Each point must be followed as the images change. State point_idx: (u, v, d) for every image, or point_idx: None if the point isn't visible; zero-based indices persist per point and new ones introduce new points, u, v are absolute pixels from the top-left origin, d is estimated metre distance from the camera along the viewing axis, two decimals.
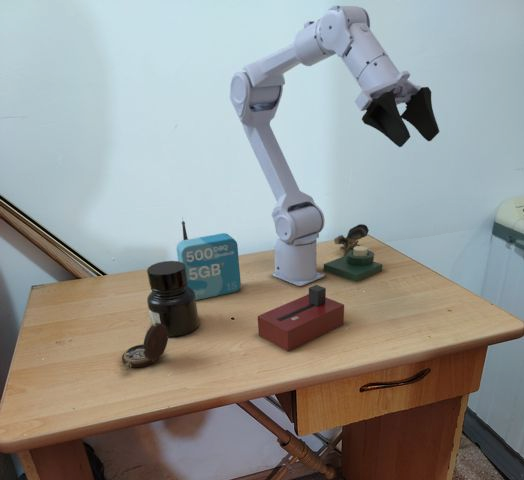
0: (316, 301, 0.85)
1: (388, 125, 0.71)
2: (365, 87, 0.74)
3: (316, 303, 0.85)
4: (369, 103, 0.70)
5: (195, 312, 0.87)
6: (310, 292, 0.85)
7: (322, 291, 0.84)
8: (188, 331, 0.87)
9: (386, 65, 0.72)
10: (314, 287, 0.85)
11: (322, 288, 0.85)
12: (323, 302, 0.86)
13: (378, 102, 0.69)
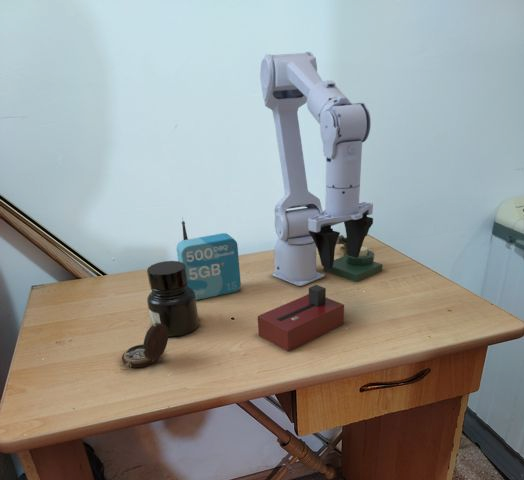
0: (316, 301, 0.85)
1: (323, 247, 0.83)
2: (327, 198, 0.80)
3: (316, 303, 0.85)
4: None
5: (195, 312, 0.87)
6: (310, 292, 0.85)
7: (322, 291, 0.84)
8: (188, 331, 0.87)
9: (350, 198, 0.78)
10: (314, 287, 0.85)
11: (322, 288, 0.85)
12: (323, 302, 0.86)
13: (324, 235, 0.79)
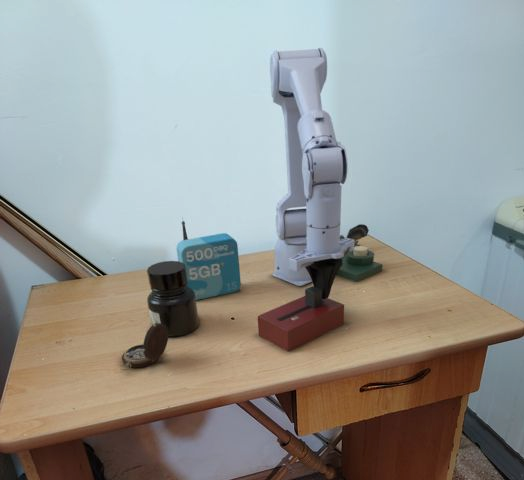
0: (312, 303, 0.85)
1: (318, 279, 0.85)
2: (307, 237, 0.80)
3: (312, 305, 0.85)
4: None
5: (195, 312, 0.87)
6: (306, 294, 0.85)
7: (318, 293, 0.84)
8: (188, 331, 0.87)
9: (330, 238, 0.78)
10: (311, 289, 0.85)
11: (318, 289, 0.84)
12: (320, 304, 0.85)
13: (318, 269, 0.81)
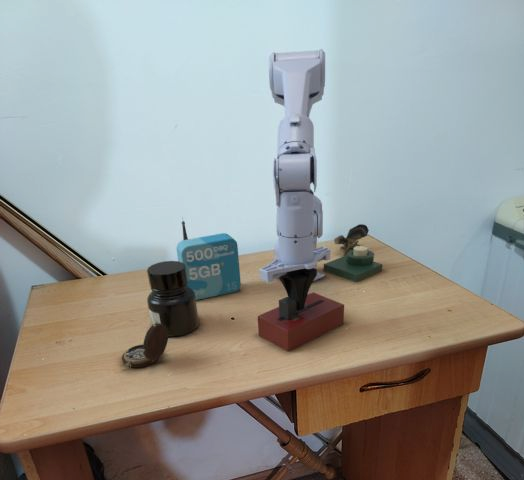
0: (286, 314, 0.81)
1: (292, 289, 0.81)
2: (280, 246, 0.77)
3: (286, 316, 0.81)
4: None
5: (195, 312, 0.87)
6: (280, 305, 0.81)
7: (292, 304, 0.81)
8: (188, 331, 0.87)
9: (303, 248, 0.75)
10: (284, 300, 0.81)
11: (292, 301, 0.81)
12: (294, 315, 0.82)
13: (291, 280, 0.78)
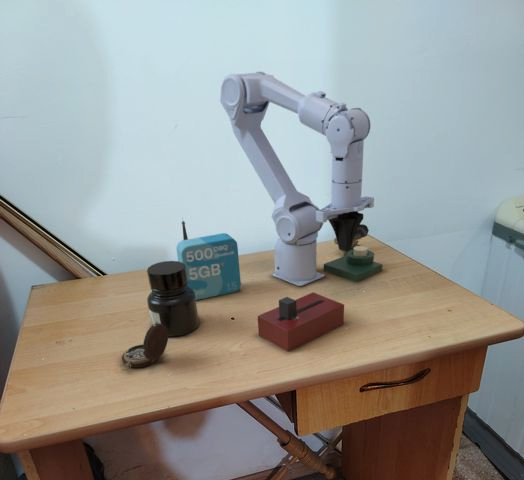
0: (286, 314, 0.81)
1: (340, 232, 0.94)
2: (332, 192, 0.90)
3: (286, 316, 0.81)
4: None
5: (195, 312, 0.87)
6: (280, 305, 0.81)
7: (292, 304, 0.81)
8: (188, 331, 0.87)
9: (353, 192, 0.88)
10: (284, 300, 0.81)
11: (292, 301, 0.81)
12: (294, 315, 0.82)
13: (341, 222, 0.91)
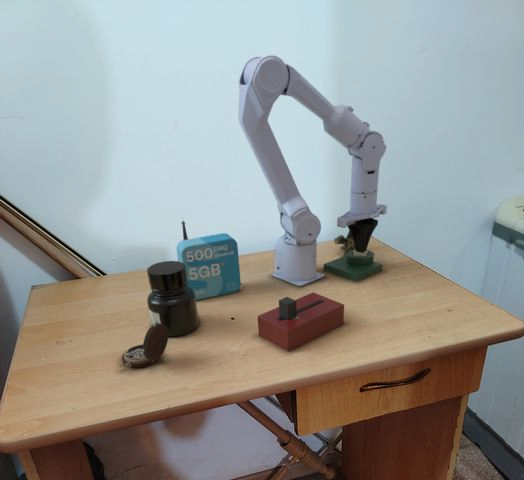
0: (286, 314, 0.81)
1: (357, 236, 1.07)
2: (351, 201, 1.02)
3: (286, 316, 0.81)
4: None
5: (195, 312, 0.87)
6: (280, 305, 0.81)
7: (292, 304, 0.81)
8: (188, 331, 0.87)
9: (370, 201, 1.00)
10: (284, 300, 0.81)
11: (292, 301, 0.81)
12: (294, 315, 0.82)
13: (359, 227, 1.03)
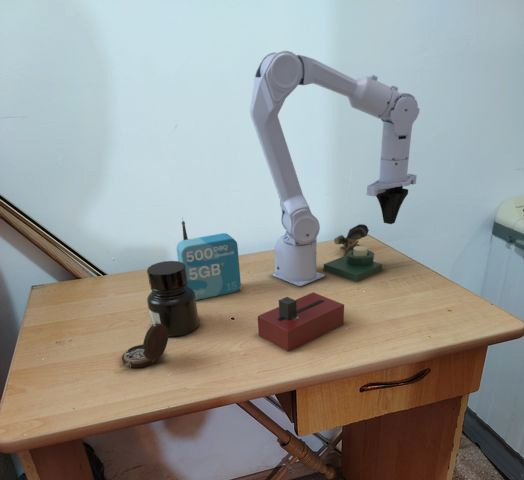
0: (286, 314, 0.81)
1: (386, 206, 1.03)
2: (381, 169, 0.98)
3: (286, 316, 0.81)
4: None
5: (195, 312, 0.87)
6: (280, 305, 0.81)
7: (292, 304, 0.81)
8: (188, 331, 0.87)
9: (401, 169, 0.97)
10: (284, 300, 0.81)
11: (292, 301, 0.81)
12: (294, 315, 0.82)
13: (389, 196, 0.99)
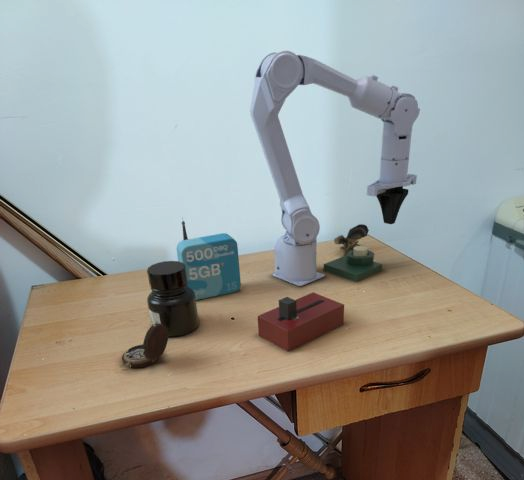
0: (286, 314, 0.81)
1: (386, 207, 1.03)
2: (381, 169, 0.98)
3: (286, 316, 0.81)
4: None
5: (195, 312, 0.87)
6: (280, 305, 0.81)
7: (292, 304, 0.81)
8: (188, 331, 0.87)
9: (401, 169, 0.97)
10: (284, 300, 0.81)
11: (292, 301, 0.81)
12: (294, 315, 0.82)
13: (389, 196, 0.99)
